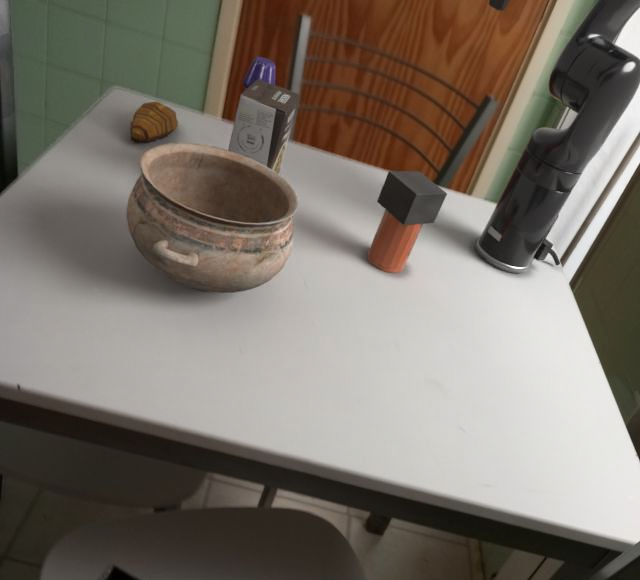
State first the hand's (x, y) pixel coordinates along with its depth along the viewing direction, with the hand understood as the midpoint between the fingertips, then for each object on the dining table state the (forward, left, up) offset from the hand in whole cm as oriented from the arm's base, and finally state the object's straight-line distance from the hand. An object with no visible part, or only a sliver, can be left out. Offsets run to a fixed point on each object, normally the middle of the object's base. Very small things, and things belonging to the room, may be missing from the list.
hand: (473, 2), depth 81 cm
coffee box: (+16, -12, -33) cm, 39 cm away
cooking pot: (+31, +3, -33) cm, 46 cm away
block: (+1, +4, -25) cm, 25 cm away
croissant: (+20, -34, -33) cm, 52 cm away
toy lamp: (+11, -22, -33) cm, 42 cm away
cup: (+1, +4, -33) cm, 33 cm away
